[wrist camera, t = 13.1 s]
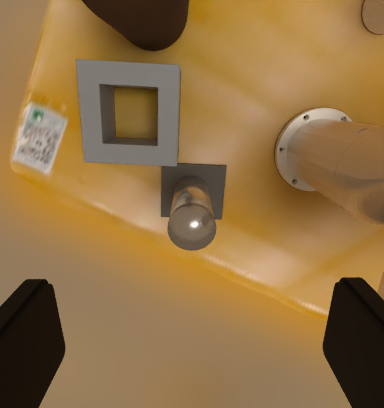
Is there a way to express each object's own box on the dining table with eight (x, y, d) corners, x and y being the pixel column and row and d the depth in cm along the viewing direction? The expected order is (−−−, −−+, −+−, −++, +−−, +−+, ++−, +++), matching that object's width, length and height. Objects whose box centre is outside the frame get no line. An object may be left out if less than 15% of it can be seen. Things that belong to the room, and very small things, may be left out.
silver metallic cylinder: (209, 176, 44) (218, 207, 31) (207, 209, 46) (214, 251, 33) (174, 174, 44) (168, 204, 31) (173, 207, 46) (167, 249, 32)
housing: (181, 71, 39) (179, 65, 33) (178, 156, 43) (176, 166, 37) (94, 66, 39) (75, 59, 32) (100, 153, 43) (84, 162, 36)
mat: (226, 165, 44) (226, 165, 43) (221, 218, 47) (221, 219, 47) (162, 162, 44) (161, 163, 43) (161, 216, 47) (161, 216, 46)
